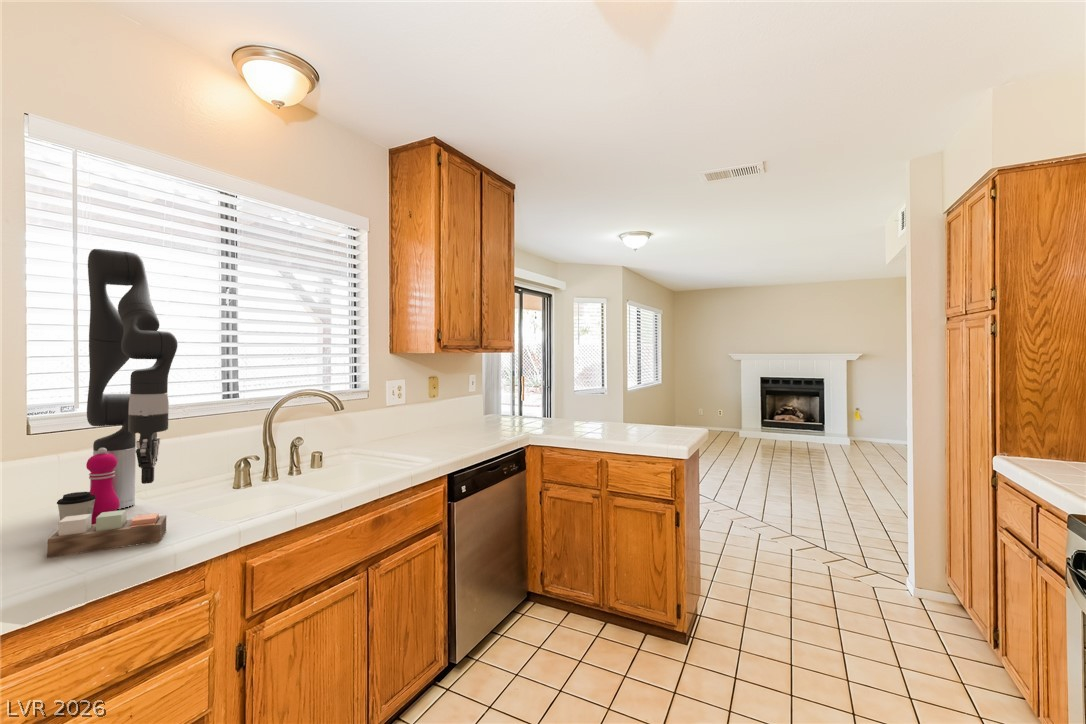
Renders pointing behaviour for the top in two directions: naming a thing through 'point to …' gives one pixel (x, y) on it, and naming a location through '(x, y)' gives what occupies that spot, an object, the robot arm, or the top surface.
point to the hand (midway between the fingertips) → (147, 482)
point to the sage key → (111, 520)
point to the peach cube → (145, 519)
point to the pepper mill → (102, 483)
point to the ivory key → (75, 524)
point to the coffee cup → (76, 504)
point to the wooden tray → (105, 538)
